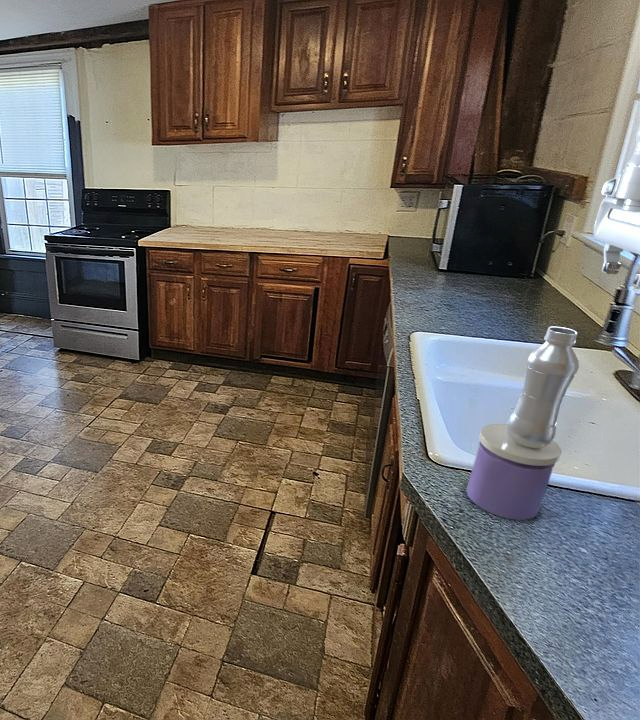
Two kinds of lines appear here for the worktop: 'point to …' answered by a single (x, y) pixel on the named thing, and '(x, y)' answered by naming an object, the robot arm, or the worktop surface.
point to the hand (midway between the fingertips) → (624, 279)
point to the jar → (510, 474)
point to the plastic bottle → (544, 389)
